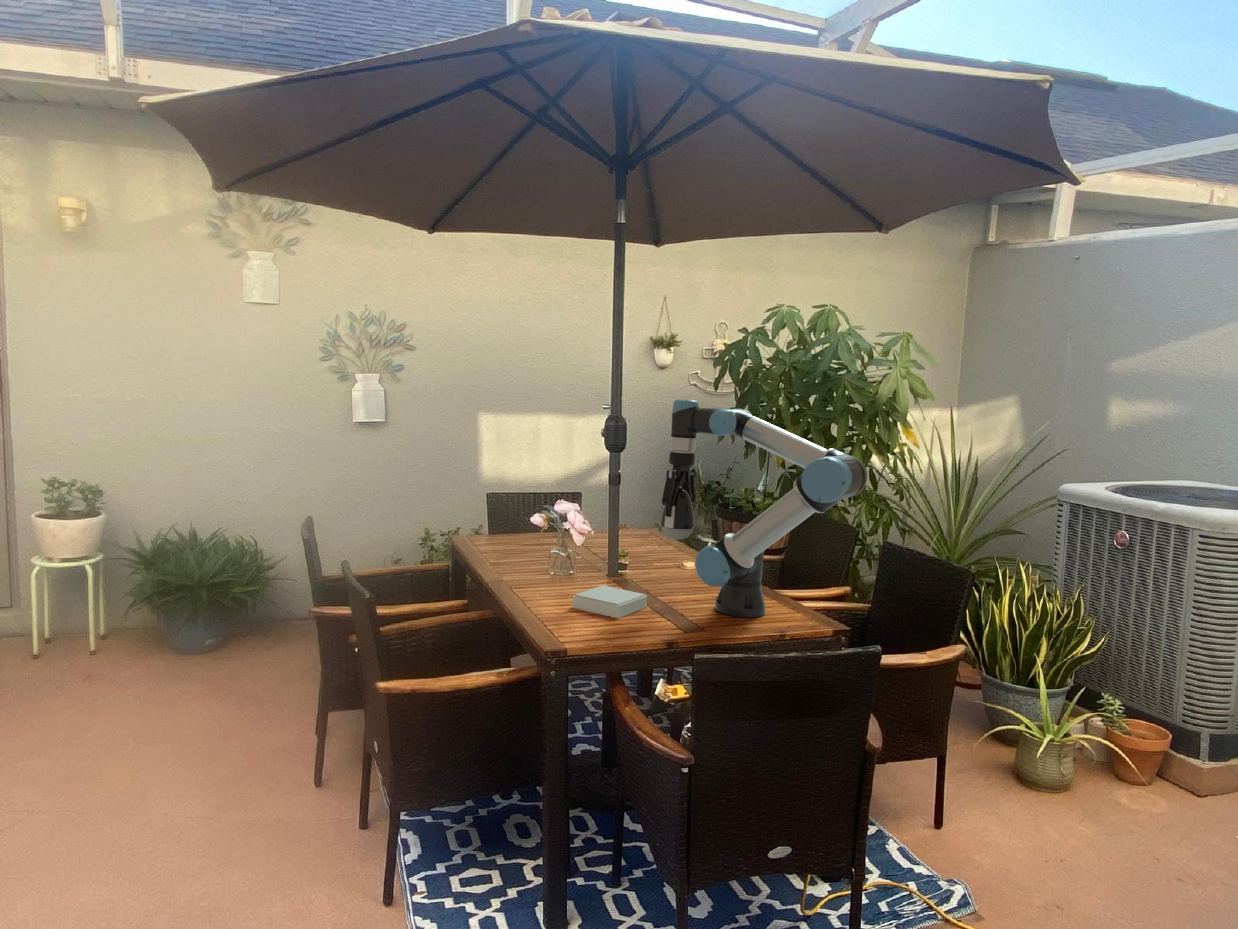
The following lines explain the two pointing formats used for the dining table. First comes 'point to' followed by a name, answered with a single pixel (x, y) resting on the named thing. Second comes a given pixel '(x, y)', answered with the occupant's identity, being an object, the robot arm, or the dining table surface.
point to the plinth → (610, 601)
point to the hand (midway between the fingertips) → (677, 525)
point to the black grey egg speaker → (680, 517)
